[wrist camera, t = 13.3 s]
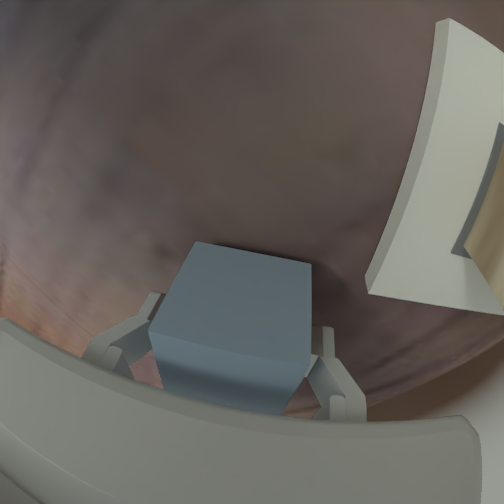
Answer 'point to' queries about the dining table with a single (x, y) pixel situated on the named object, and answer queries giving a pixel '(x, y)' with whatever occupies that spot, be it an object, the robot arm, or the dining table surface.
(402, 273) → the plate
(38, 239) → the dining table surface
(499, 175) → the maple block
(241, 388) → the slate blue block
